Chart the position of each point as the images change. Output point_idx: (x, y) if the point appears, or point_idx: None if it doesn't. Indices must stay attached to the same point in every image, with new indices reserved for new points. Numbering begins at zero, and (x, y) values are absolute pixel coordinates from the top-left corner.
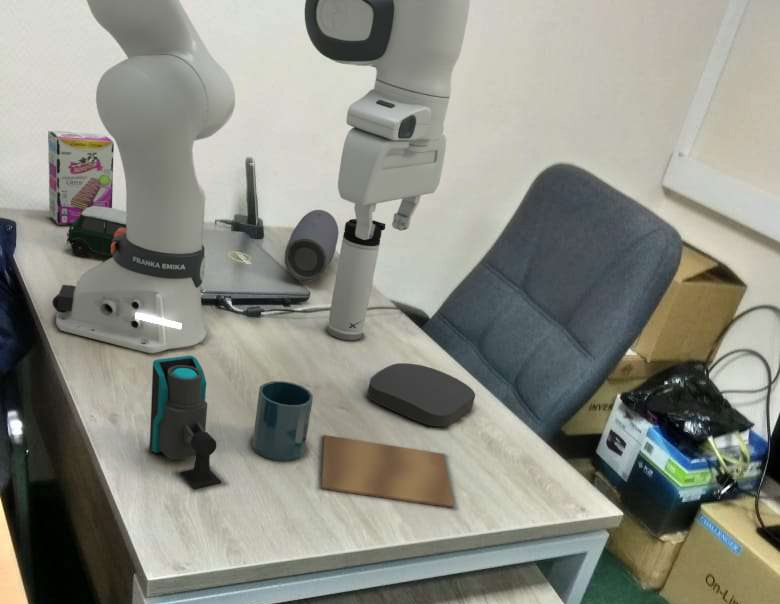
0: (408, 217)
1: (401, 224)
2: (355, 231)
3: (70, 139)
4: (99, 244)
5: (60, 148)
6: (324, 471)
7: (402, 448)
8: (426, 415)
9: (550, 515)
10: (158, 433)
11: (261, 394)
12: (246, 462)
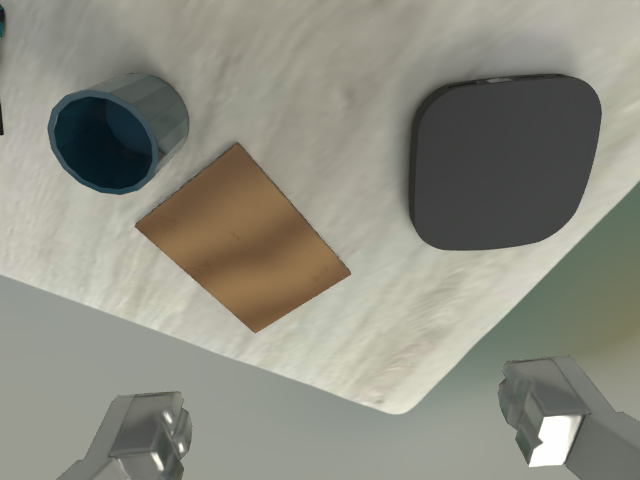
0: (557, 464)
1: (513, 415)
2: (109, 408)
3: None
4: None
5: None
6: (162, 206)
7: (313, 235)
8: (413, 223)
9: (338, 389)
10: None
11: (49, 121)
12: None
